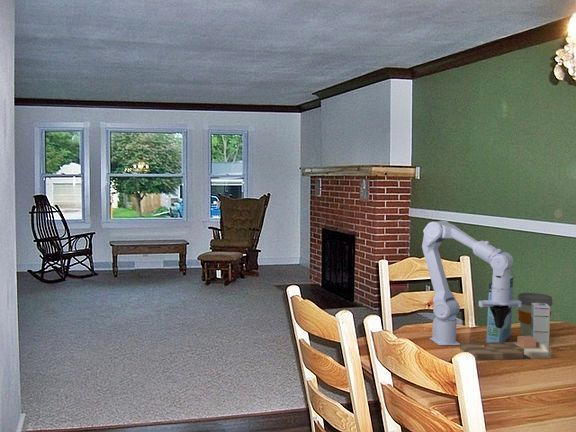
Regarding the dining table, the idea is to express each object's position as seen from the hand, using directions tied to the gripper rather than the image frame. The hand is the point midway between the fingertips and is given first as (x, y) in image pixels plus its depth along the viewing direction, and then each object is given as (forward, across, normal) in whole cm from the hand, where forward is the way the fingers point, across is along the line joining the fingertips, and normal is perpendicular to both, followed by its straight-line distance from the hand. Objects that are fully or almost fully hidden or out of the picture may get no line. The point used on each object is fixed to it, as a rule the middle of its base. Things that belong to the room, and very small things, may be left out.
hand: (498, 327), depth 217 cm
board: (+9, +1, -1) cm, 9 cm away
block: (+7, +10, 0) cm, 12 cm away
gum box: (+9, +8, +15) cm, 19 cm away
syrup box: (+9, +21, +10) cm, 25 cm away
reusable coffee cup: (+9, +26, +22) cm, 36 cm away
